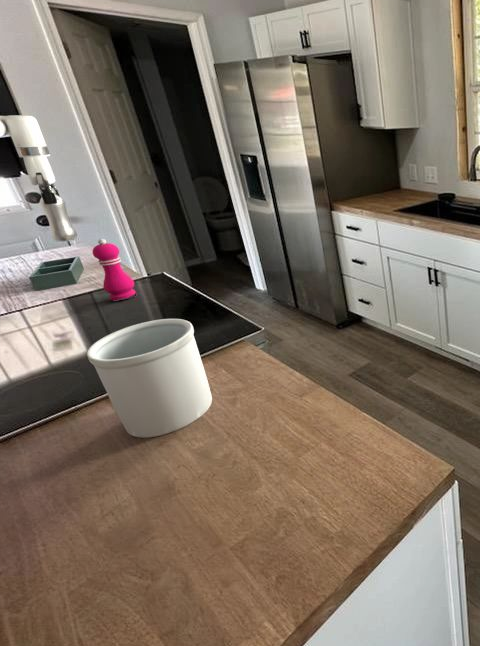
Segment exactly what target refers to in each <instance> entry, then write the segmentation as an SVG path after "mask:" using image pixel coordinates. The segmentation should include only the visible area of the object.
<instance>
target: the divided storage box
mask: <svg viewBox="0 0 480 646" xmlns="http://www.w3.org/2000/svg"><path fill="white" fill-rule="evenodd" d="M84 269H85V267H84V265H83V263H82V259H81V257H80V256H79V255H78V256H72V257H71V256H70V257H65V258H58V259H52V260H46V261H41V262H40V263H39V264H38V265H37V267H36V268H35V269H34V271H33V272H31V274H30V275H29V277H28V278H29V280H30V282H31V285H32V287H33V289H34V291H35V292H39V291H44V290H48V289H49V290H50V289H53V288H59V287H66V286H71V285H77V284H78V282H79V281H80V278H81V276H82V274H83V272H84ZM65 285H66V286H65Z"/></svg>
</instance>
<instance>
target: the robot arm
mask: <svg viewBox="0 0 480 646" xmlns="http://www.w3.org/2000/svg"><path fill="white" fill-rule="evenodd" d="M6 137H7V138H9V137H10V138H11V139H12V142H13V145H14V147H15V150H16V152H17V154H18V157H19V158H23V162H24V166H25V169H26V171H27V175H28V178H29V181H30V183H31V185H32V186H34V187H35V186H38V188H39V192H40V195H41V198H43V200H44V203H45V204H56V203H58V202H57V200H56V197H55V194H56V195H57V196H59V197H61V196H60V193H59V191H58V189H57V187H56V185H55V182H56V178H55V174H54V171H53V168H52V166H51V164H50V162H49V159H48V157H51V154H50V151H49V148H48V146H47V142H46V140H45V138H44V136H43V133H42V130H41V127H40V125H39V122H38V120H37V118H36V117H34V116H33V115H29V114H28V115H26V114H25V115H24V114H23V115H21V114H19V115H18V114H17V115H16V114H15V115H14V114H13V115H11V114H10V115H0V138H6ZM51 188H54V190H55V192H56V193H55V194H54V192H52V189H51Z"/></svg>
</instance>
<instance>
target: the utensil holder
mask: <svg viewBox="0 0 480 646" xmlns="http://www.w3.org/2000/svg"><path fill="white" fill-rule="evenodd" d="M194 333H195V329H194V326H193V324H192V323H191V321H188V320H185V319H181V318H163V319H155V320H150V321H145V322H141V323H137V324H133V325H130V326H126V327H124V328H122V329H119V330H116V331H113V332H112V333H110V334H108V335H105V336H104V337H102V338H100V339H99V340H97V341H96V342H94V343H93V344H91V346H90V347H89V348H88V350H87V352H86V357H87V359H88V361H89V362H90V363H91V365H93V366H94V368H95V370H96V373H97V375H98V377H99V379H100V381H101V383H102V385H103V387H104V389H105V391H106V394H107V396H108V398H109V400H110V402H111V404H112V406H113V408H114V410H115V412H116V414H117V416H118V418H119V420H120V421H121V423H122V425H123V428H124V429H125V431H126V433H127V434H129V435H130V436H132V437H135V438H141V439H145V438H154V437H159V436H164V435H168V434H170V433H173V432H175V431H178V430H180V429H183V428H185V427H187V426H189V425H191V424H192V423H194V422H195V421H197V420H198V419H200V417H202V416H203V415H204V414H205V413H206V412H207V411H208V410H209V408H210V407H211V405H212V402H213V396H212V393H211V389H210V384H209V381H208V377H207V374H206V371H205V368H204V364H203V361H202V358H201V355H200V351H199V348H198V345H197V341H196V339H195V336H194Z"/></svg>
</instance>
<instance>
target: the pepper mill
mask: <svg viewBox="0 0 480 646" xmlns="http://www.w3.org/2000/svg"><path fill="white" fill-rule="evenodd" d="M97 243H98V244H97V245H95V246H94V247H93V248H92V255H93V257H94V258H96V259H97V260H98V263H99V266H102V267H101V268H102V269H103V271H104V279H103V290H104V292H106V293H108V294H109V296H108V297H109V299H110V301H111V300H118V299H124V298H128V297H130V296H132V295H134V294H135V293H136V294H137V292H136V290H135V289H134V287H135V281H134V279H132V277H131V276H129V274H127V273H126V272H125V271H124V270H123V268H122V266H121V263H120V262H122V260H121V257H120V256H119V255H120V249H119V246H117V245H116V244H114V243H108V242H107V240H106V239H104V238H100V239H98V240H97Z"/></svg>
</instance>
